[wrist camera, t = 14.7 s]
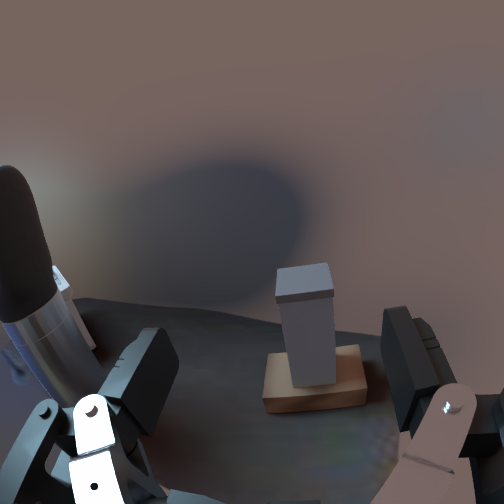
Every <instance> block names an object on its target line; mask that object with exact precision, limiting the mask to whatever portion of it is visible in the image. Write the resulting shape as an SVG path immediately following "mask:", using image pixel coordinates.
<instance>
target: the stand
mask: <svg viewBox="0 0 504 504" xmlns="http://www.w3.org/2000/svg"><path fill="white" fill-rule="evenodd" d="M335 349H336V383H335V384H327V385H318V386H309V387H298V388H293V385H292V379H291V373H290V367H289V362H288V356H287V352H286V353H273V354H268V360H267V368H266V375H265V382H264V390H263V397H262V398H263V402H264V405H265V408H266V412H267V413H283V412H301V411H313V410H324V409H333V408H342V407H349V406H357V405H363V404H365V403H366V396H367V383H366V378H365V373H364V368H363V364H362V359H361V354H360V350H359V345H358V344H357V345H350V346H343V347H335Z"/></svg>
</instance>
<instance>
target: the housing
mask: <svg viewBox="0 0 504 504" xmlns="http://www.w3.org/2000/svg"><path fill="white" fill-rule="evenodd" d="M275 297H276V303H277V304H278V306H279V311H280V317H281V322H282V328H283V334H284V339H285V345H286V350H287V356H288V362H289V367H290V373H291V379H292V385H293V388H298V387H309V386H318V385H327V384H335V383H336V349H335V327H334V326H335V324H334V308H333V307H334V306H333V297H334V288H333V284H332V280H331V276H330V272H329V268H328V264H327V263H320V264H313V265H306V266H298V267H290V268H282V269H278V270H277V282H276V293H275Z"/></svg>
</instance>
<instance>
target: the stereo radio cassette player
mask: <svg viewBox="0 0 504 504" xmlns="http://www.w3.org/2000/svg"><path fill="white" fill-rule="evenodd" d="M52 268H53V276H54V279H55V281H56V284H57V286H58V288H59V290H60V292H61V294H62V297H63V299H64V301H65V303H66V305H67V307H68V309H69V311H70V313H71V315H72V317H73V318H74V320H75V322H76V324H77V326H78V328H79V330H80V331H81V333H82V335H83V337H84V339H85V340H86V342H87V344H88V346H89V347H90V349H91V350H92V349H94V348H95V347H96V345H95V343H94V341H93V339H92V338H91V336H90V334H89V332H88V330H87V329H86V327H85V325H84V323H83V321H82V319H81V317H80V315H79V313H78V311H77V309H76V307H75V305H74V303H73V301H72V299H71V296H72V295H73V290H72V288H71V287H70V286H69V284H68V283H67V281H66V280H65V279H64V277H63V276H62V275H61V273H60V272H59V270H58V269H57V268H56V266H52Z"/></svg>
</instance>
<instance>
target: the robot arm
mask: <svg viewBox="0 0 504 504" xmlns="http://www.w3.org/2000/svg"><path fill="white" fill-rule="evenodd" d="M0 320H1V322H2V324H3V326H4V328H5V329H6V331H7V333H8V335H9V336H10V338H11V340H12V341H13V343H14V344H15V346H16V348H17V349H18V351H19V352H20V354H21V356H22V357H23V359H24V360H25V362H26V363H27V365H28V366H29V367H30V369H31V370H32V372H33V373H34V375H35V376H36V377H37V379H38V380H39V381H40V383H41V384H42V385H43V387H44V388H45V389H46V391H47V392H48V393H49V395H50V396H51V397H52V398H53V399H46V400H44V401H42V402H40V403H39V404H38V405H37V406H36V407H35V409H34V410H33V412H32V414H31V415H30V417H29V419H28V420H27V422H26V424H25V425H24V427H23V429H22V431H21V432H20V434H19V436H18V438H17V440H16V441H15V443H14V445H13V447H12V449H11V451H10V452H9V454H8V456H7V458H6V460H5V462H4V464H3V466H2V468H1V470H0V504H226V503H223V502H220V501H217V500H215V499H212V498H209V497H207V496H204V495H199V494H193V493H188V492H182V491H177V490H173V489H170V492H169V495H168V496H166V494H165V492H164V491H163V490H162V488H161V487H160V486H159V484H158V483H157V481H156V480H155V477H154V475H153V472H152V470H151V467H150V465H149V462H148V459H147V457H146V454H145V451H144V448H143V445H142V443H141V441H140V440H139V439H138V437H139V435H140V434H141V435H146V436H152V433H153V431H154V428H155V426H156V423H157V421H158V418H159V416H160V413H161V411H162V408H163V406H164V404H165V401H166V399H167V396H168V394H169V391H170V389H171V387H172V384H173V382H174V379H175V377H176V375H177V372H178V369H179V360H178V356H177V354H176V352H175V350H174V348H173V345H172V343H171V341H170V339H169V337H168V335H167V332H166V331H165V329H163V328H144V329H143V330H142V331H141V333H140V335H139V336H138V338H137V340H134V341H133V342H132V343H131V344H130V345H129V346H127V347H126V348H125V349H124V351H123V353H122V354H121V356H120V357H119V360H118V361H117V362H116V364H115V365H114V368H113V369H112V370H111V372H110V374H109V375H108V377H107V375H106V373H105V372H104V370H103V369H102V367H101V365H100V364H99V362H98V361H97V359H96V357H95V356H94V354H93V352H92V351H91V349H90V347H89V346H88V344H87V342H86V340H85V339H84V337H83V335H82V333H81V331H80V330H79V328H78V326H77V324H76V322H75V320H74V318H73V317H72V315H71V313H70V311H69V309H68V307H67V305H66V303H65V301H64V299H63V297H62V294H61V292H60V290H59V288H58V286H57V284H56V281H55V279H54V276H53V268H52V260H51V256H50V252H49V249H48V246H47V243H46V240H45V237H44V233H43V230H42V226H41V223H40V219H39V215H38V211H37V208H36V204H35V201H34V198H33V195H32V192H31V190H30V187H29V185H28V183H27V181H26V179H25V178H24V176H23V175H22V174H21V173H20V172H19V170H17V169H16V168H14V167H13V166H10V165H0ZM381 355H382V359H383V363H384V367H385V371H386V374H387V378H388V382H389V386H390V390H391V394H392V399H393V403H394V407H395V412H396V416H397V421H398V426H399V431H400V432H404V431H408V430H410V434H411V442H410V444H409V446H408V448H407V449H406V451H405V453H404V454H403V456H402V457H401V459H400V460H399V462H398V464H397V465H396V467H395V468H394V470H393V472H392V473H391V475H390V476H389V478H388V479H387V481H386V482H385V484H384V485H383V487H382V488H381V489H380V491H379V492H378V494H377V495H376V496H375V498H374V499H373V500H372V502H371V503H370V504H440V503H441V501H442V499H443V497H444V496H445V494H446V492H447V490H448V488H449V486H450V484H451V481H452V479H453V476H454V472H453V468H454V465H455V463H456V461H457V459H458V458H465V457H469V460H470V466H471V470H472V477H473V483H474V489H475V498H476V504H504V389H503V390H502V392H501V394H493V395H476V394H474V393H473V391H472V390H471V389H469V388H468V387H467V386H465V385H462V384H458V383H457V381H456V379H455V377H454V375H453V372H452V370H451V368H450V366H449V363H448V361H447V359H446V357H445V355H444V353H443V351H442V348H440V344H439V342H438V340H437V339H436V336H435V334H434V332H433V330H432V328H431V327H430V325H429V324H427V323H426V322H425V321H424V320H423V319H421V318H415V319H412V317H411V316H410V313H409V311H408V309H407V307H406V306H399V307H393V308H387V309H384V313H383V324H382V334H381ZM54 443H55V444H56V445H57V446H58V447H59V448H60V449H62V451H61V454H60V456H59V458H58V460H57V462H56V464H55V467H54V469H53V471H52V473H51V475H49V474H48V473H47V472H46V470H45V466H44V465H45V461H46V459H47V457H48V455H49V453H50V451H51V449H52V447H53V444H54ZM269 504H320V500H312V501H279V502H274V503H269Z"/></svg>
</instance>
